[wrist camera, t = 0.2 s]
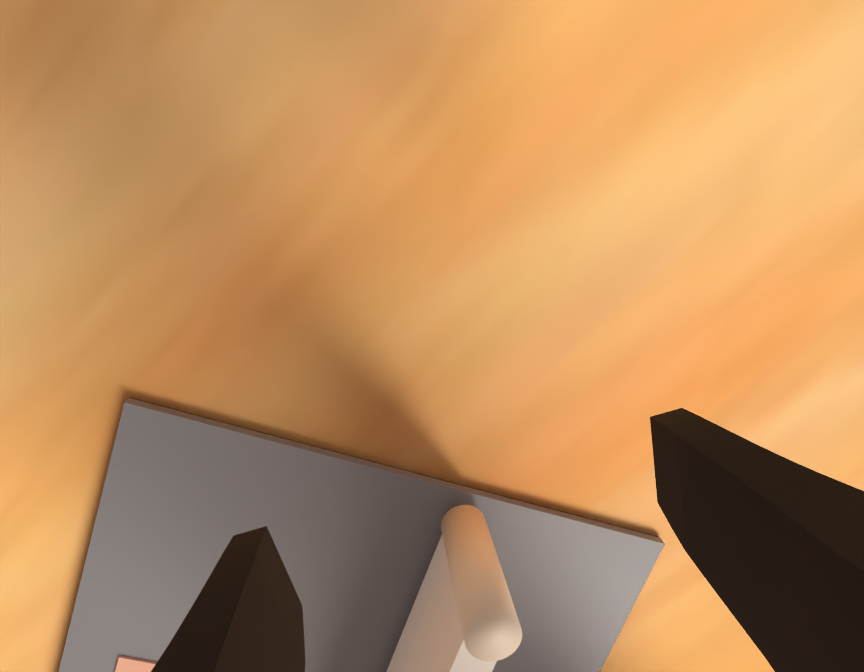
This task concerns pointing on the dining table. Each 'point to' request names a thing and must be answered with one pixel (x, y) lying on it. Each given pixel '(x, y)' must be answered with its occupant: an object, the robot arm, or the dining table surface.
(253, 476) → the card
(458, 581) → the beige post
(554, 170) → the dining table surface
